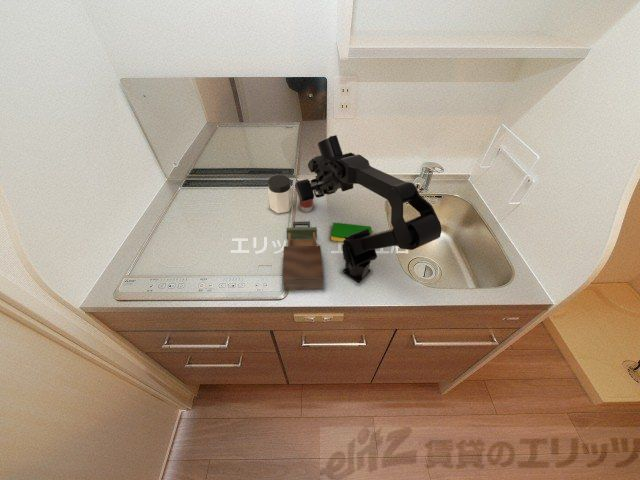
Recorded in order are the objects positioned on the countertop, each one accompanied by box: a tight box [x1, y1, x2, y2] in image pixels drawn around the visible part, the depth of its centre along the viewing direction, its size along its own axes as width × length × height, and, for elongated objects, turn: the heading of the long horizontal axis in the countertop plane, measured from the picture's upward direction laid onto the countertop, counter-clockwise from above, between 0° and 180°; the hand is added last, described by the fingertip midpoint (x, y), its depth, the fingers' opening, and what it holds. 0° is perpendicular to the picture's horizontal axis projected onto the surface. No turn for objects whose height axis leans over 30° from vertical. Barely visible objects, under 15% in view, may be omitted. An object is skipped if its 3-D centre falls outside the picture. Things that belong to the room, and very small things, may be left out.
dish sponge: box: [330, 221, 372, 243], centre depth 96 cm, size 7×14×2 cm, turn 83°
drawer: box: [286, 221, 318, 246], centre depth 90 cm, size 16×10×4 cm, turn 4°
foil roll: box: [298, 186, 314, 213], centre depth 103 cm, size 5×5×10 cm
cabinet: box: [282, 245, 324, 292], centre depth 82 cm, size 12×11×6 cm
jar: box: [267, 174, 293, 214], centre depth 102 cm, size 9×8×12 cm
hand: (316, 191), depth 92 cm, fingers closed
